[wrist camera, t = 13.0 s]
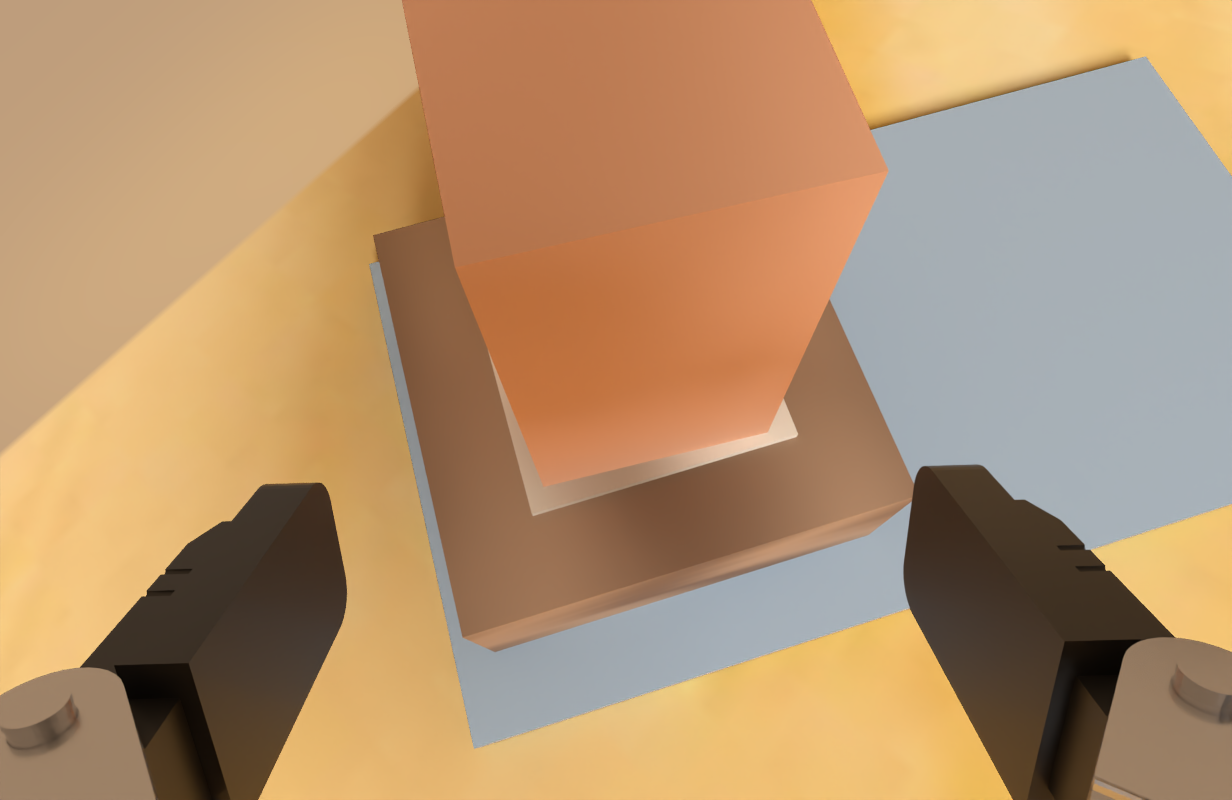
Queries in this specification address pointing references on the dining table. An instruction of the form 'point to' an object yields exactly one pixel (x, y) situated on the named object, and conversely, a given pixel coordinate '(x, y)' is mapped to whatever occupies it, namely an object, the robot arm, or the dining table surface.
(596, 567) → the walnut foundation
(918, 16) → the dining table surface
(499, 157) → the terracotta block
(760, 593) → the board
